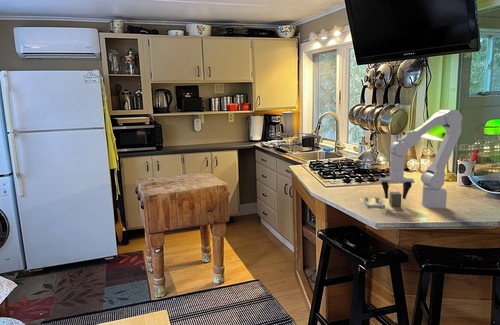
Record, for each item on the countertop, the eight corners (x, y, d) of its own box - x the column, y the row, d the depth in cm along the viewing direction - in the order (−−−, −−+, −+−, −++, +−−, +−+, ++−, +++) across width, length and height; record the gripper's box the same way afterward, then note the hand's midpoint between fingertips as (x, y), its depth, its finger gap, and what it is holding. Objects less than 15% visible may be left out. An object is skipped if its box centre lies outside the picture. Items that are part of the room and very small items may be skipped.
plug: (393, 199, 177) (394, 187, 176) (400, 207, 166) (401, 194, 164) (385, 199, 178) (385, 187, 177) (391, 207, 166) (392, 194, 165)
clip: (377, 200, 176) (377, 196, 176) (378, 202, 174) (378, 197, 174) (364, 200, 177) (364, 196, 177) (365, 201, 175) (365, 197, 175)
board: (393, 199, 179) (394, 198, 179) (404, 210, 162) (404, 209, 162) (358, 199, 181) (359, 198, 181) (365, 209, 164) (365, 209, 164)
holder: (381, 203, 171) (381, 201, 171) (385, 208, 165) (385, 205, 164) (364, 203, 172) (364, 201, 172) (367, 207, 166) (367, 205, 165)
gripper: (382, 170, 162) (380, 200, 164) (416, 170, 160) (414, 201, 162) (378, 167, 169) (377, 196, 171) (411, 167, 167) (409, 197, 169)
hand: (395, 198), depth 167 cm, fingers open, 7 cm apart
